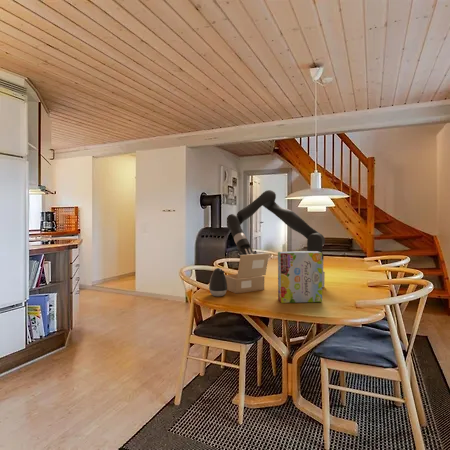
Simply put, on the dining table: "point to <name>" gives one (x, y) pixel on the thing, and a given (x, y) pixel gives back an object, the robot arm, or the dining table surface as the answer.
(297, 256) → the snack box
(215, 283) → the dark grey egg shape
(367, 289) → the dining table surface
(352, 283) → the dining table surface
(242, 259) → the lid
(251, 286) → the mailer box
